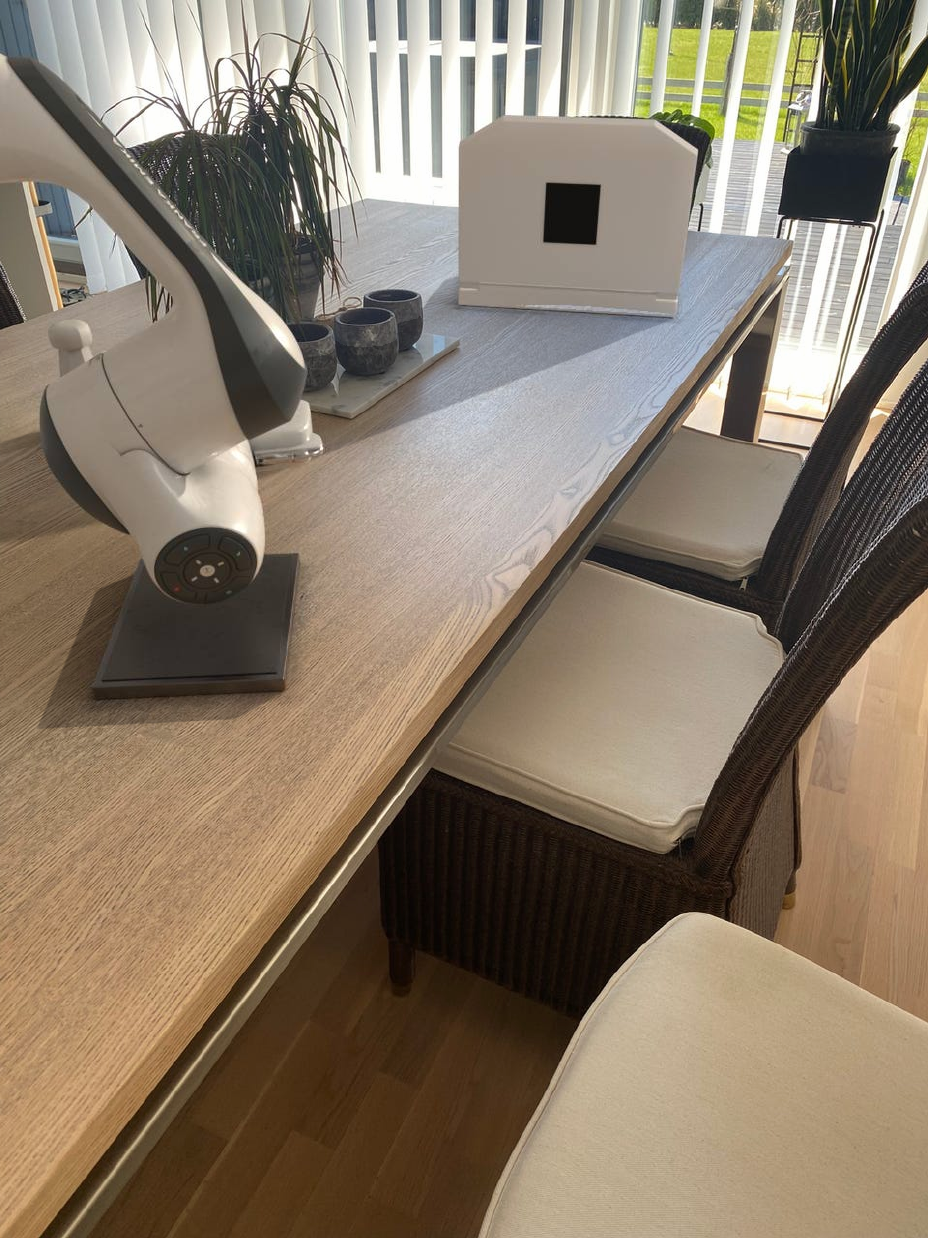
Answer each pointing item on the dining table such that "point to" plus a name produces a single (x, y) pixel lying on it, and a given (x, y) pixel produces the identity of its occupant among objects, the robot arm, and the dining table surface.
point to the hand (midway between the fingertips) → (195, 404)
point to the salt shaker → (71, 343)
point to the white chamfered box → (574, 214)
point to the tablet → (202, 638)
